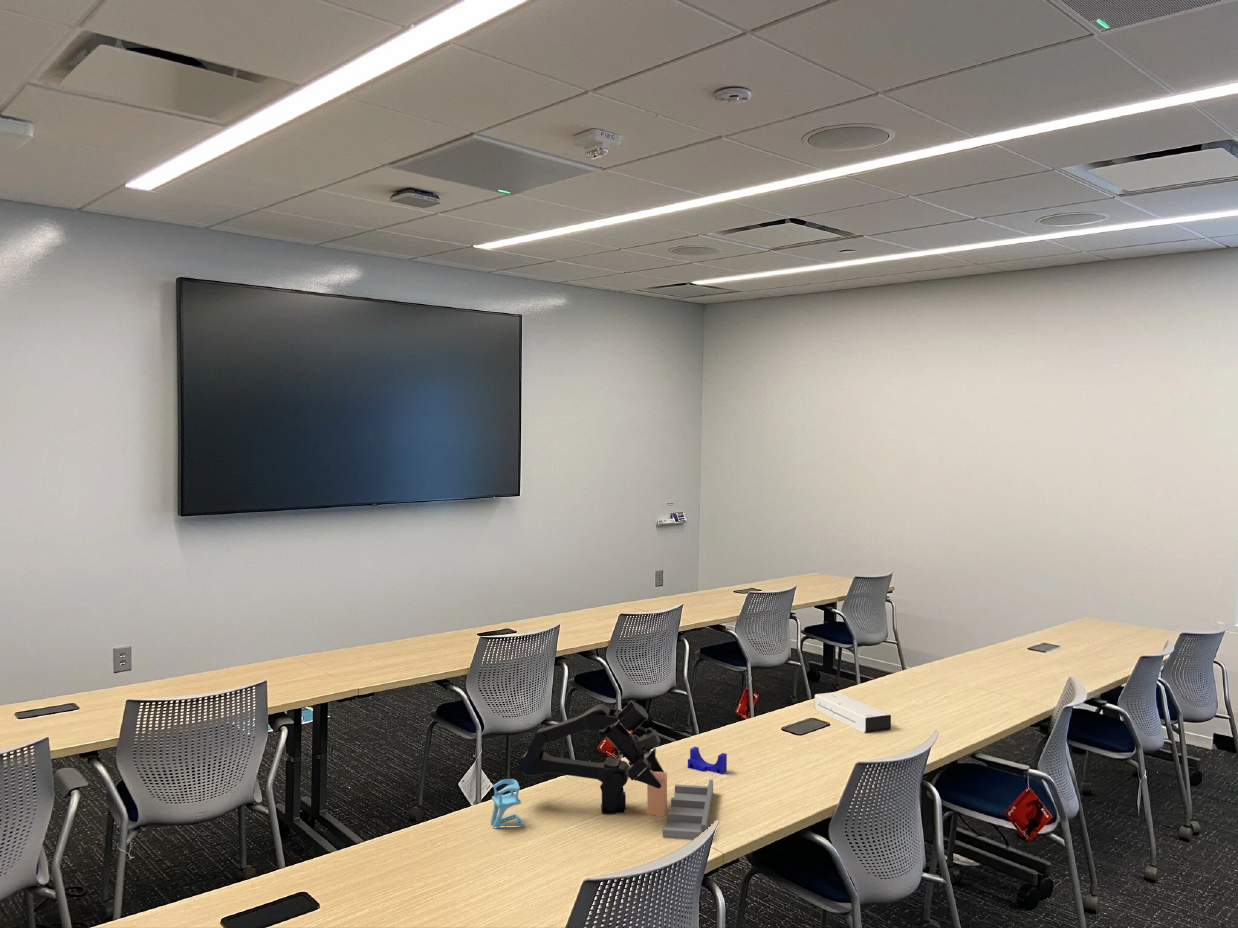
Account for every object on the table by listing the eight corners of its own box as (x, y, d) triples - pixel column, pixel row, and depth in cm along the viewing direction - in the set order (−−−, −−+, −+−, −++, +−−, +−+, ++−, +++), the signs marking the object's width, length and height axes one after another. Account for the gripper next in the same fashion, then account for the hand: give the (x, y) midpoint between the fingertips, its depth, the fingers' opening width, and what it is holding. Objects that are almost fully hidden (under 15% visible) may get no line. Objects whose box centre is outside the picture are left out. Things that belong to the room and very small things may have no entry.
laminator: (814, 709, 359) (814, 694, 359) (840, 706, 363) (840, 691, 363) (865, 734, 327) (865, 717, 327) (893, 730, 331) (893, 714, 331)
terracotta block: (647, 815, 253) (647, 777, 252) (649, 808, 257) (649, 771, 257) (664, 816, 252) (664, 778, 252) (666, 810, 257) (666, 772, 256)
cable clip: (687, 768, 291) (687, 750, 291) (694, 764, 295) (694, 746, 295) (719, 776, 284) (719, 757, 284) (726, 771, 288) (726, 753, 288)
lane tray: (662, 838, 238) (662, 821, 238) (675, 791, 270) (675, 777, 270) (705, 841, 236) (705, 825, 236) (713, 794, 268) (713, 779, 268)
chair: (488, 821, 249) (487, 778, 249) (516, 816, 252) (516, 774, 252) (495, 832, 242) (495, 788, 242) (524, 826, 245) (524, 783, 245)
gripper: (638, 732, 246) (678, 773, 244) (647, 712, 264) (684, 751, 262) (610, 759, 247) (650, 800, 245) (621, 737, 265) (658, 776, 264)
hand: (662, 781), depth 254 cm, fingers open, 9 cm apart
